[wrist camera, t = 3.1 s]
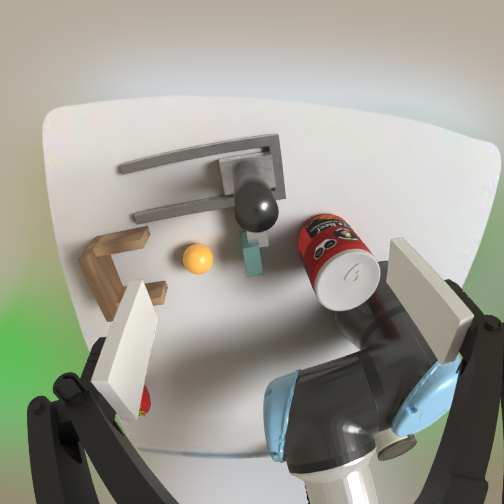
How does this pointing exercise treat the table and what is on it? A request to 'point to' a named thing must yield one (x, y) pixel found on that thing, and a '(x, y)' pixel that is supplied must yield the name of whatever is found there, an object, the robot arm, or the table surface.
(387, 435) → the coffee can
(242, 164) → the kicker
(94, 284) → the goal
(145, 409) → the strawberry
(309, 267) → the canned food
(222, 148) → the rail
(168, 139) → the table surface
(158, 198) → the table surface
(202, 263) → the ball
